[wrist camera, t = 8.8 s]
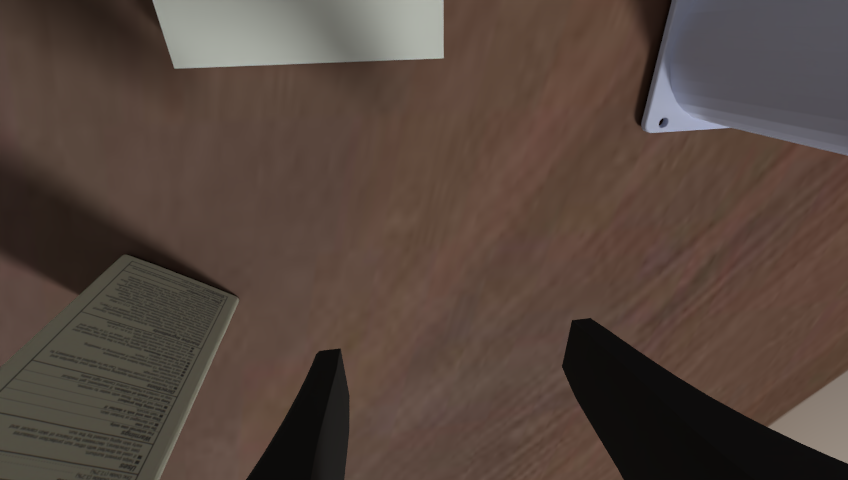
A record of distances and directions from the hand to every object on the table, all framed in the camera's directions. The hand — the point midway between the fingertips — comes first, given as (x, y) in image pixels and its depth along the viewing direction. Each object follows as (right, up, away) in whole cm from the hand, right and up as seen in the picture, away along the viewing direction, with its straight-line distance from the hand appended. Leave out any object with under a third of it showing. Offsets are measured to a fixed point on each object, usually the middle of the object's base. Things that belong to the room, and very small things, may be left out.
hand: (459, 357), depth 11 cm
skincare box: (-15, 0, +10) cm, 18 cm away
